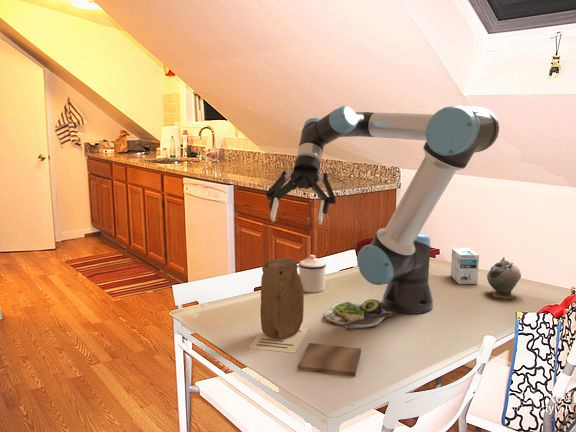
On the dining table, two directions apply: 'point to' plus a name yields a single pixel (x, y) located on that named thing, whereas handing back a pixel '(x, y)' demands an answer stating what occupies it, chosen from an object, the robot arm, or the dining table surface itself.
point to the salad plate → (357, 314)
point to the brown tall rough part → (281, 298)
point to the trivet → (330, 359)
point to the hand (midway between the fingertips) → (295, 220)
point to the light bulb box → (464, 266)
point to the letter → (279, 342)
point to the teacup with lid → (312, 274)
